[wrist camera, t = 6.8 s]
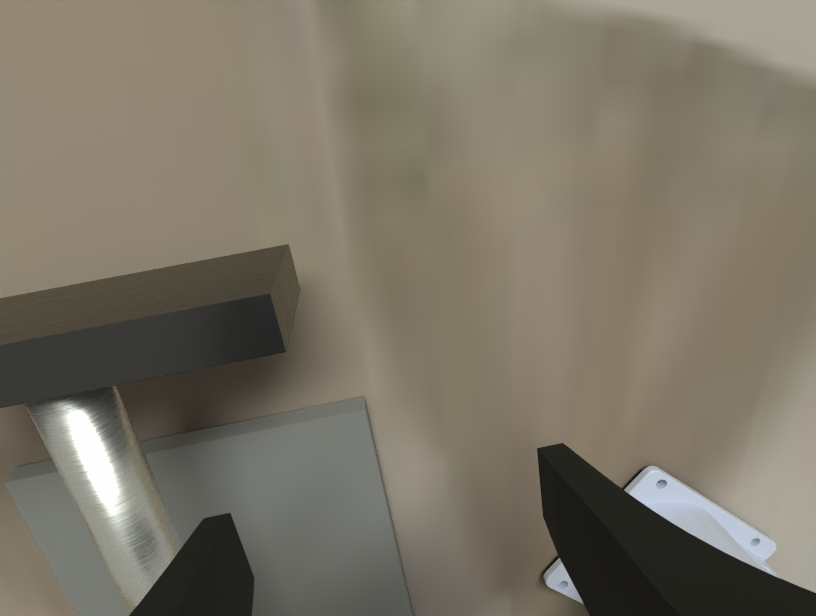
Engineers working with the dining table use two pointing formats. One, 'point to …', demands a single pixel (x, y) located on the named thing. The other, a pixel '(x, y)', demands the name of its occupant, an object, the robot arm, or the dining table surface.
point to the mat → (251, 513)
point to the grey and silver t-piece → (129, 362)
